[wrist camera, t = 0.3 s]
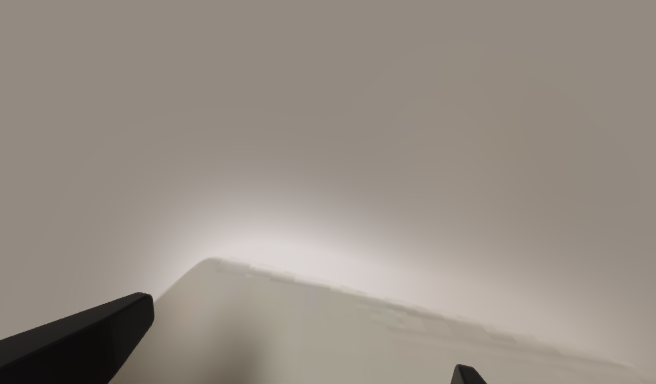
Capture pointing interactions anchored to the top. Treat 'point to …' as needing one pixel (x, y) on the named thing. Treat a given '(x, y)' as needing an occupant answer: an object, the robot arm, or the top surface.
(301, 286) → the top surface
